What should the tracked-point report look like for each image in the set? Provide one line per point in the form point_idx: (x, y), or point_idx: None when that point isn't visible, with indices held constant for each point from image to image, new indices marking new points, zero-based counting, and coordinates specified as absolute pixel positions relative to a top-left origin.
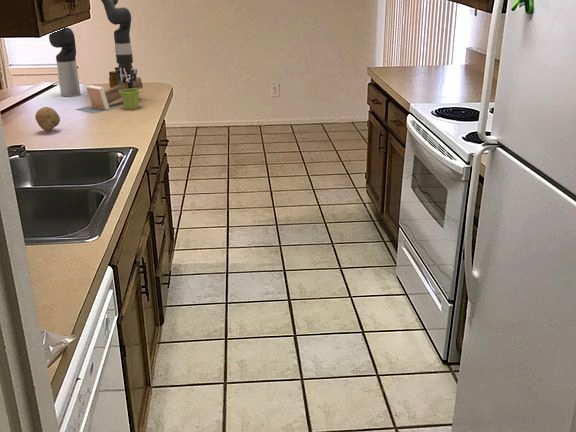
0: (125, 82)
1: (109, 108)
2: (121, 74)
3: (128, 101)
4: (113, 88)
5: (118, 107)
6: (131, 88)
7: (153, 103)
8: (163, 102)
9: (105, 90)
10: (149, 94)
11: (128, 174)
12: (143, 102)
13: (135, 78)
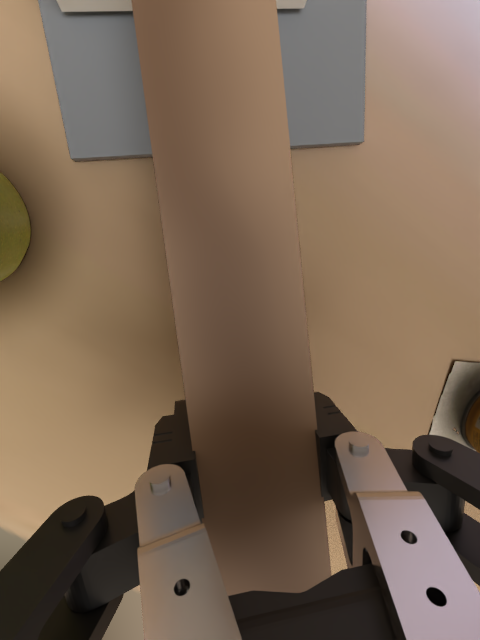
0: (278, 453)
1: (91, 36)
2: (386, 539)
3: None
4: (216, 163)
5: (66, 137)
6: (158, 430)
7: (45, 464)
8: (20, 528)
9: (272, 25)
10: (336, 566)
11: None
12: (143, 429)
13: (44, 629)
